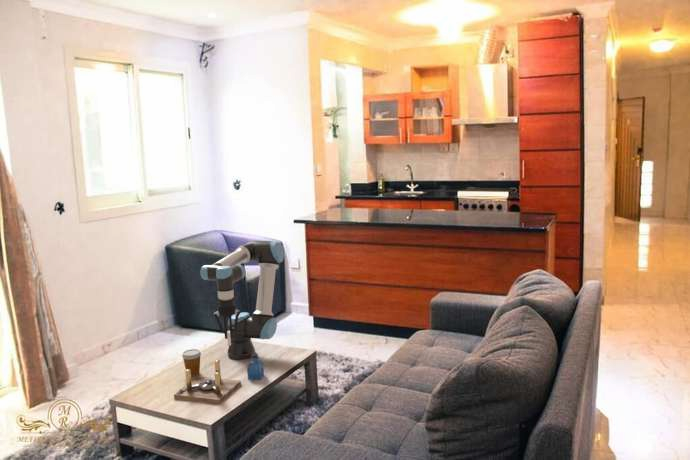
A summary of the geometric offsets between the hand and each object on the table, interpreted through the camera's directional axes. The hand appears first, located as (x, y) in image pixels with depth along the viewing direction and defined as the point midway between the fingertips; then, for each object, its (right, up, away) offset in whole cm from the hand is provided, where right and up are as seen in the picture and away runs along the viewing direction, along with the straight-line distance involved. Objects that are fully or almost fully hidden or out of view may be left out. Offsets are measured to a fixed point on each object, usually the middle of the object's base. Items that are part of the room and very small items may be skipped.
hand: (229, 344), depth 282 cm
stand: (-8, -21, -6) cm, 24 cm away
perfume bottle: (+12, -18, +8) cm, 23 cm away
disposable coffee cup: (-22, -19, +15) cm, 32 cm away
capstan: (-8, -19, -5) cm, 21 cm away
